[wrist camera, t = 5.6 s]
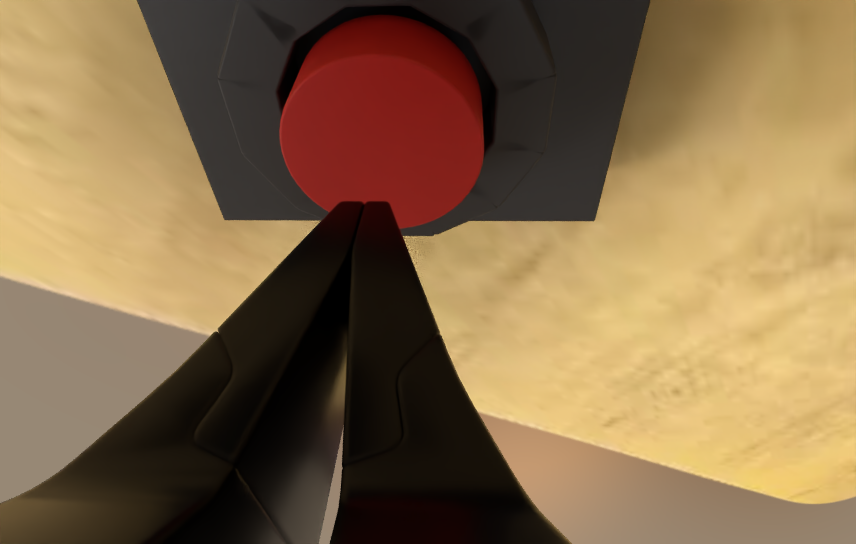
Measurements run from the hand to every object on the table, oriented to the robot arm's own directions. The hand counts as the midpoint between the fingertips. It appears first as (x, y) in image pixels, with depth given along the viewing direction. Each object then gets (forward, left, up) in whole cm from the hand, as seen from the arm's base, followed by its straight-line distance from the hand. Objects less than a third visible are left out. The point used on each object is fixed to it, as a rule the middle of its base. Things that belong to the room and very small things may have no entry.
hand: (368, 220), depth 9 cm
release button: (0, 0, -4) cm, 4 cm away
